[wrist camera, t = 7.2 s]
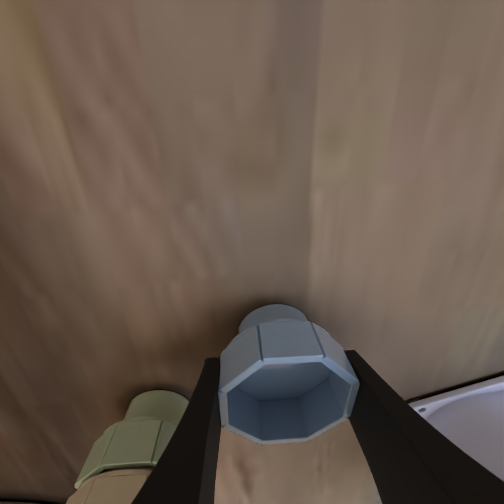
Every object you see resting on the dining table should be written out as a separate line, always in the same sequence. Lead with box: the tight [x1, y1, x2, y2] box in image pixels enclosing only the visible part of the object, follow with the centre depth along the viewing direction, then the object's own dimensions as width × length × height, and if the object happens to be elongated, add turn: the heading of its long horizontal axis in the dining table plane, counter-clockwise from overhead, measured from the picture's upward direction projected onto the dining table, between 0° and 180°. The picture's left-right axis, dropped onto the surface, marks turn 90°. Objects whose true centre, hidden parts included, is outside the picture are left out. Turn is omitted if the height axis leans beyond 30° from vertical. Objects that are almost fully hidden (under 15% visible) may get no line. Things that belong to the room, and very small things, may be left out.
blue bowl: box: [217, 304, 360, 445], centre depth 11 cm, size 6×6×4 cm
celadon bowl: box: [75, 390, 189, 489], centre depth 14 cm, size 6×6×4 cm
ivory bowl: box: [66, 466, 154, 504], centre depth 12 cm, size 6×6×4 cm
